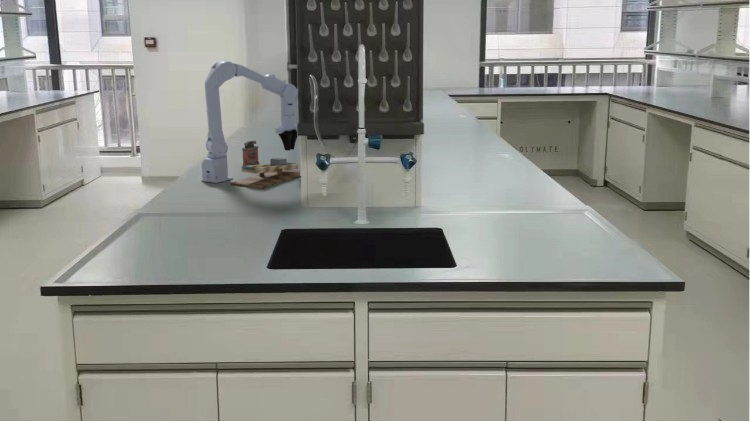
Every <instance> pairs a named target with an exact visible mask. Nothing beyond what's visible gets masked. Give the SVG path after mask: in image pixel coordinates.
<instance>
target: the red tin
mask: <svg viewBox="0 0 750 422" xmlns="http://www.w3.org/2000/svg"><path fill="white" fill-rule="evenodd" d="M243 144H244V147H241V151H242V166H252V165H260V162H259V145H255V144H257V140H251V141H250V140H248V141H246V142H244V143H243Z"/></svg>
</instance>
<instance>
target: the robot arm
mask: <svg viewBox="0 0 750 422" xmlns="http://www.w3.org/2000/svg"><path fill="white" fill-rule="evenodd" d="M234 77H236V78H237V77H244V78H246V79H249V80H251V81H254V82H257V83H259V84H260V85H261V87H262V89H263V90H266V91H268V92H270V93H273V94H274V95H279V97H280V124H281V126H278V127H276V128H275V134H276V135H277V134H278V136H279V138H280V139H281V140H280V141H282V142H281V143H282V144H283V149H284V151H292V150H295V145H296V142H297V139H298V136H297V131H298V129H297V124H298V123H297V115H296V114H297V111H296V109H297V108H296V107H297V106H296V97H297V96H298V93H297V91H298V90H297V87H296V86H295V85H294V84H293V83H288V82H287V80H286V79H280V78H277V77H276V75H275V74H273V73H271V74H270V73H269V74H268V73H267V74H266V75H265V74H264V75H263V74H261V73H259V72H257V71H254V70H253V69H250V68H249V67H246V66H244V65H242V64H238V63H235V62H231V61H227V60H222V59H221V60H218V61H216V63H214V64H213V65H212V66H211V68H210V70H209V73H208V75H207V76H206V79H205V81H204V93H205V103H206V115H207V126H208V127H207V128H208V132H207V139H206V142H205V148H206V150H207V151H208V152H207V155H206V158H205V159H203V161H202V163H201V175H202V177H201V178H202V179H200V181H201V182H206V183H207V182H208V183H215V184H218V183H222V182H226V181H229V180H233V179H234V177H232V176H229V170H228V169H229V168H228V166H229V165H228V154H227V153H228V151H229V150H228V149H229V147H228V144H227V142H226V140H225V134H224V131H223V122H222V111H221V98H220V87H222V85H223V84H224V83H226V82H227V81H229V80H231V79H233V78H234Z"/></svg>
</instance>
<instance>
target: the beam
mask: <svg viewBox="0 0 750 422" xmlns="http://www.w3.org/2000/svg"><path fill="white" fill-rule="evenodd" d="M280 168H282V171H286V170H294V171H296V170H298V168H299V164H298V163H295V162H288V161H287V165H280V166H270V163H266V164H264V163H263V164H257V165H252V166H243V165H242V166H241V173H248V174H249V173H250V174H256V175H259V173H268V172H277V169H280Z"/></svg>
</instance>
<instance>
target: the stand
mask: <svg viewBox="0 0 750 422" xmlns="http://www.w3.org/2000/svg"><path fill="white" fill-rule="evenodd" d="M300 171H301V170H286V171H282V168H280V169H277V172H268V173H258V174H256V175H252V176H248V177H247V178H243V179H242V178H241V179H239V180H237V181H231V182H230V185H231V186H234V187H235V186H236V187H237V186H238V187H245V188H252V189H259V190H263V189H266V188H269V187H270V188H271V187H273V186H276V185H278V183H279V184H281V182H282V183H285V182H288V180H289V181H292V180H295V179H297V177H298V178H301V177H300ZM294 178H295V179H294ZM291 179H292V180H291ZM284 181H285V182H284Z"/></svg>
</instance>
